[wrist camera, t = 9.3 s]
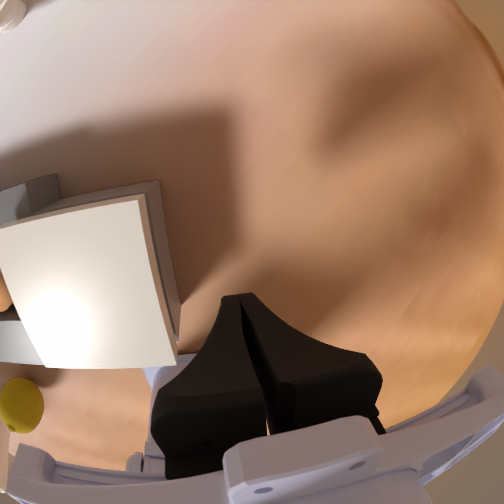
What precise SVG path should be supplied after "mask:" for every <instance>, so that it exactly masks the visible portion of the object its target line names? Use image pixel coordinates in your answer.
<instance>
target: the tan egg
mask: <svg viewBox="0 0 504 504" xmlns="http://www.w3.org/2000/svg"><path fill="white" fill-rule="evenodd" d="M12 303H13V301H12V299H11V296H10V294H9V291H8V288H7V286H6V283H5V280H4V278H3V275H2V272H1V269H0V312H3V311H5V310H7V309H8V308H9V306H10V305H11V304H12Z"/></svg>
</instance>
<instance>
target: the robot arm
mask: <svg viewBox="0 0 504 504" xmlns="http://www.w3.org/2000/svg"><path fill="white" fill-rule="evenodd" d="M142 369H143V371H144V373H145V376H146V378H147V380H148V383H149V385H150V387H151V389H152V396H151V405H150V415H149V426H148V438H147V442H145V456H144V457H143V453H140V452H135V453H134V455H132V456H130V457H129V458H128V460H127V464H126V471H118V470H108V469H100V468H92V467H86V466H80V465H74V464H69V463H64V462H59V461H55V460H54V458H53V457H52V456H51V455H50V454H49V453H47V452H46V451H44V450H42V449H40V448H37V447H33V446H29V445H25V444H22V443H21V444H19V446H18V449H17V452H16V456H15V459H14V462H13V466H12V469H11V472H10V476H9V480H8V484H7V487H6V493H7V494H8V495H10V496H11V497H13V498H14V499H16V500H17V501H18V502H20V503H21V504H433V503H432V501H431V499H430V498H429V496H428V494H427V492H426V491H425V489H424V487H423V485H424V484H426V483H427V482H429V481H431V480H432V479H434V478H435V477H436V476H438V475H440V474H441V473H442V472H444V471H445V470H447V469H448V468H450V467H451V466H452V465H453V464H455V463H457V462H458V461H459V460H461V459H462V458H463V457H464V456H465V455H467V454H468V453H469V452H471V451H472V450H473V449H475V448H476V447H477V446H478V445H480V444H481V443H482V442H483V441H485V440H486V439H487V438H488V437H489V436H490V435H492V434H493V433H494V432H495V431H496V430H497V428H498V427H499V426H500V425H501V424H502V422H503V421H504V377H503V376H502V375H501V374H500V373H499V372H498V371H497V370H496V369H495V368H494V367H493V366H492V365H491V364H488V365H486V366H485V367H483V368H482V369H480V370H479V371H477V372H476V373H475V374H474V375H473V376H472V377H471V378H470V380H469V381H468V383H467V385H466V388H465V389H463V390H462V391H460V392H458V393H457V394H455V395H453V396H451V397H450V398H448V399H446V400H444V401H443V402H441V403H439V404H437V405H435V406H433V407H431V408H430V409H428V410H426V411H424V412H422V413H420V414H418V415H416V416H414V417H411V418H409V419H407V420H405V421H403V422H401V423H398V424H396V425H394V426H391V427H389V428H387V429H384V427H383V426H382V424H381V422H380V420H379V419H378V417H377V416H379V411H378V409H377V407H376V406H375V403H376V400H377V398H378V395H379V392H380V390H381V387H382V382H383V379H382V375H381V373H380V372H379V371H378V369H377V368H376V366H375V365H374V364H373V362H372V361H371V360H370V359H369V358H368V357H367V355H366V354H364V353H359V352H354V351H349V350H344V349H341V348H337V347H334V346H331V345H328V344H325V343H323V342H320V341H318V340H316V339H313V338H311V337H309V336H307V335H305V334H303V333H301V332H299V331H298V330H296V329H294V328H293V327H291V326H289V325H288V324H287V323H285V322H284V321H283V320H281V319H280V318H279V317H278V316H276V315H275V314H274V313H273V312H272V311H271V310H269V309H268V308H267V307H266V306H265V305H264V304H263V303H262V302H261V301H260V300H259V299H258V298H257V297H256V295H255V294H253V293H252V292H251V293H244V294H236V295H229V296H223V297H222V299H221V305H220V309H219V313H218V315H217V318H216V321H215V323H214V325H213V327H212V330H211V332H210V334H209V336H208V337H207V339H206V341H205V343H204V344H203V346H202V347H201V349H200V350H199V351H198V353H193V354H183V355H177V365H173V366H159V367H142ZM266 420H267V424H268V429H269V433H270V435H269V436H267V425H266Z"/></svg>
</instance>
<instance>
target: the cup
mask: <svg viewBox="0 0 504 504" xmlns="http://www.w3.org/2000/svg"><path fill="white" fill-rule="evenodd" d="M9 437H10V430H9V429H8V427H7V425H6V424H5V423H4V422H3V420H2V418H1V416H0V492H2V493H5V490H6V483H7V473H8V447H9Z"/></svg>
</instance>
